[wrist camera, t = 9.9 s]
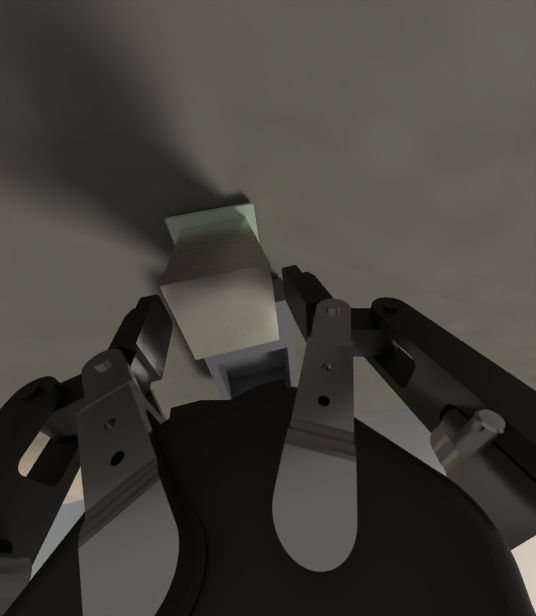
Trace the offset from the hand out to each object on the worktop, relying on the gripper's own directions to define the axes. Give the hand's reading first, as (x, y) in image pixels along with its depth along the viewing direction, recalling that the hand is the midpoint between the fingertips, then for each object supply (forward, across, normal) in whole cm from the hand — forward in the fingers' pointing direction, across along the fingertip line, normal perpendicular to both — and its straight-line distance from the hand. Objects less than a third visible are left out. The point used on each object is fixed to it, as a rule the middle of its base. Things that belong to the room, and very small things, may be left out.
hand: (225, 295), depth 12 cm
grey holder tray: (+7, 0, +10) cm, 12 cm away
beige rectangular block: (+6, 0, 0) cm, 6 cm away
